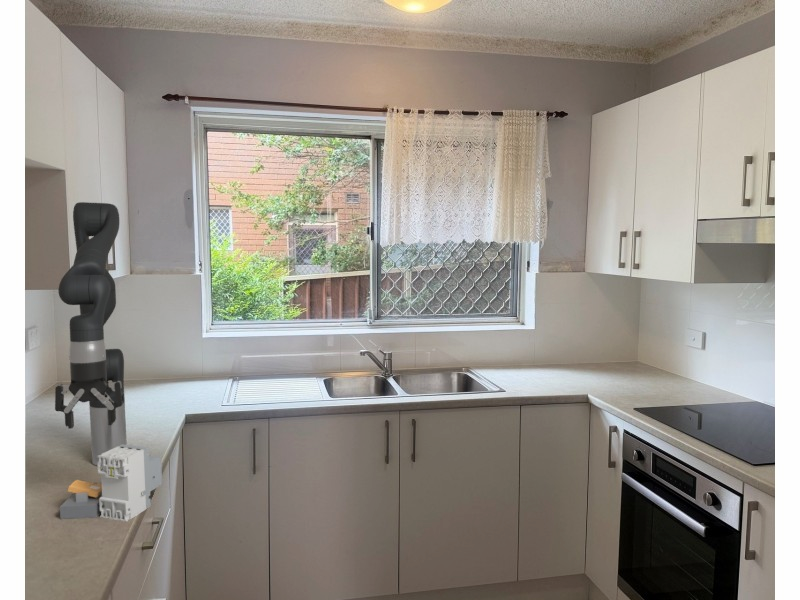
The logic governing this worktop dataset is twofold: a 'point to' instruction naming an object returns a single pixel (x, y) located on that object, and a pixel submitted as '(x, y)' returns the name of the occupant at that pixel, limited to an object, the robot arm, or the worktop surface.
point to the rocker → (85, 488)
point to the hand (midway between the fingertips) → (91, 426)
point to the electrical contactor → (127, 481)
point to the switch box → (80, 506)
